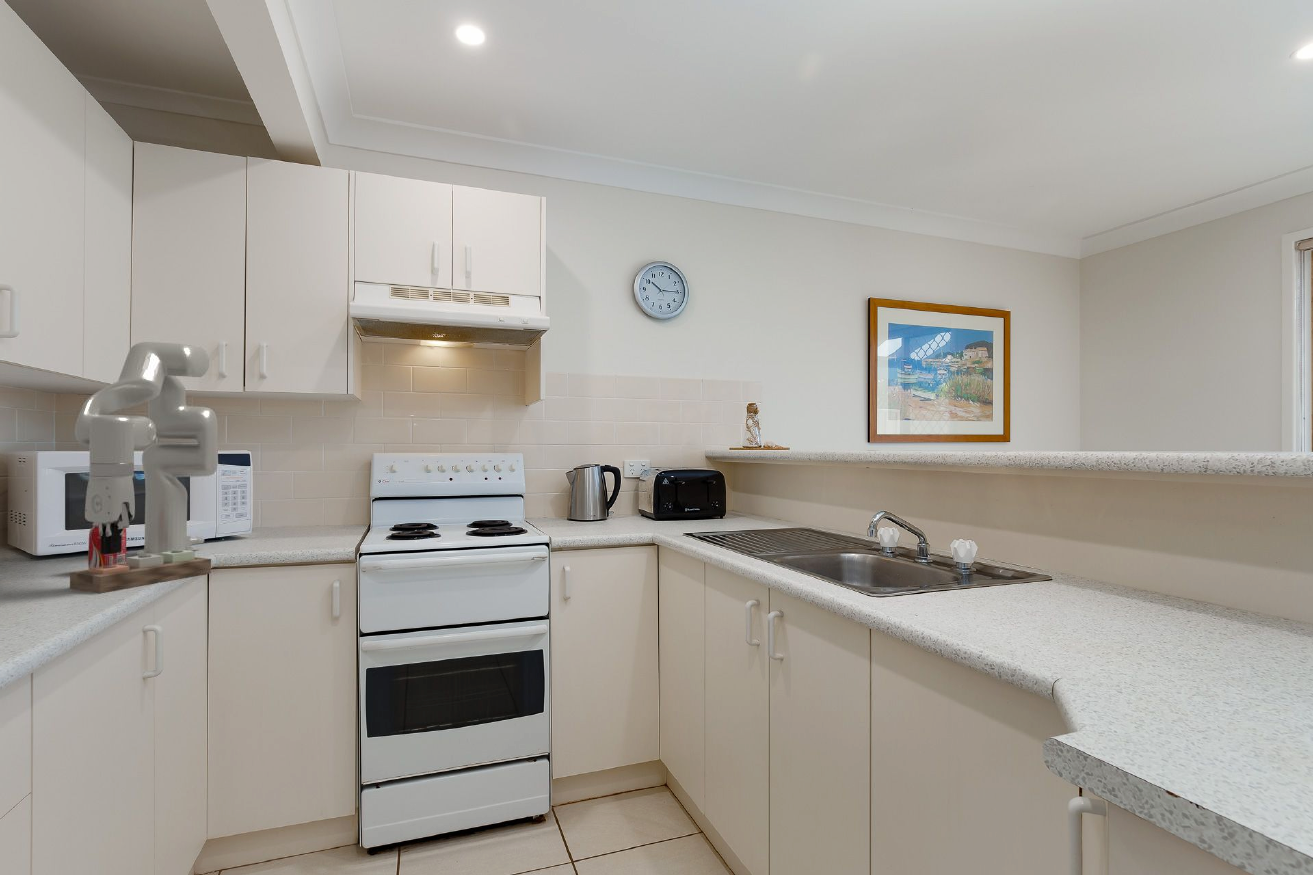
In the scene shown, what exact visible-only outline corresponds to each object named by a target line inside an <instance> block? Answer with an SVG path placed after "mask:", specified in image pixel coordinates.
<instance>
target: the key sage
mask: <svg viewBox="0 0 1313 875" xmlns="http://www.w3.org/2000/svg"><path fill="white" fill-rule="evenodd" d="M159 555H161V556H164V559H163V562H166V563H177V562H183V561H189V560H195V557H196V556H195V551H194V550H193V551H188V550H176V551H169V552H162V553H159Z"/></svg>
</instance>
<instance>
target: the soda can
mask: <svg viewBox="0 0 1313 875" xmlns="http://www.w3.org/2000/svg"><path fill="white" fill-rule="evenodd" d="M87 549H88V555H87V557H88V559H87V560H88V563H87V564H88V569H89V568H96V567H103V566H109V565H123V564H126V558H127V528H125V529H124V530H123V534H122V550H121V552H120V553H113V554H101V552H100V550H101V536H100V534H99V527H98V526H96V525H94V523H92V527H91V528H90V530H89V532H88V548H87Z"/></svg>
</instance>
